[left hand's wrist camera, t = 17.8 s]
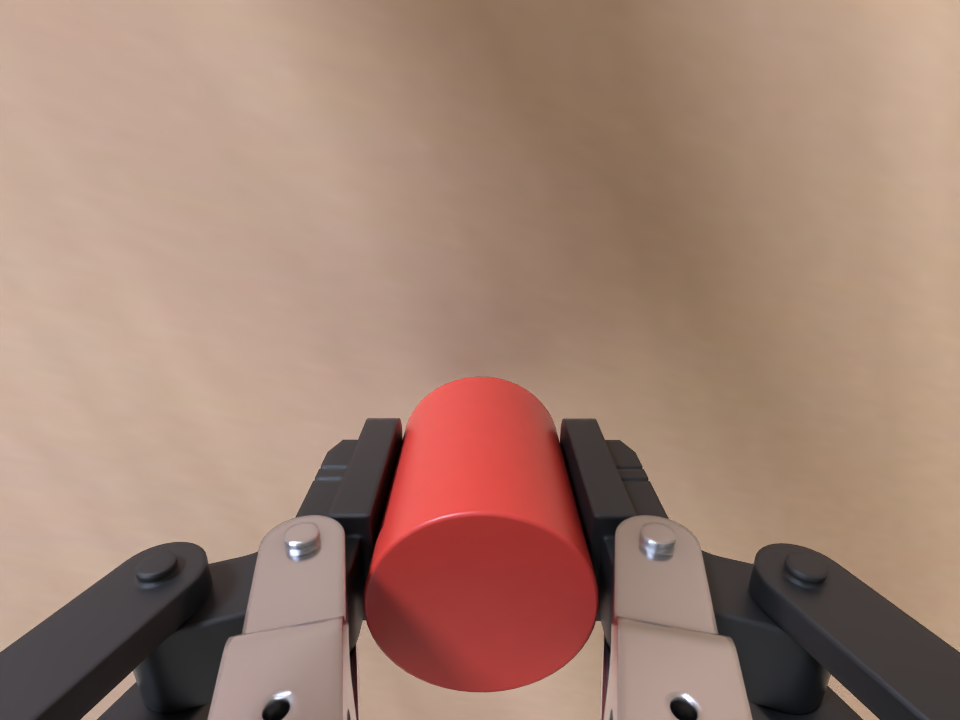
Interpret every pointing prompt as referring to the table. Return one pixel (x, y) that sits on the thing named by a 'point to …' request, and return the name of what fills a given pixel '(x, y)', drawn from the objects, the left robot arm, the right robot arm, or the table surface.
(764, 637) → the left robot arm
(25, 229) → the table surface
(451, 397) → the canister
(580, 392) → the table surface
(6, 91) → the table surface
